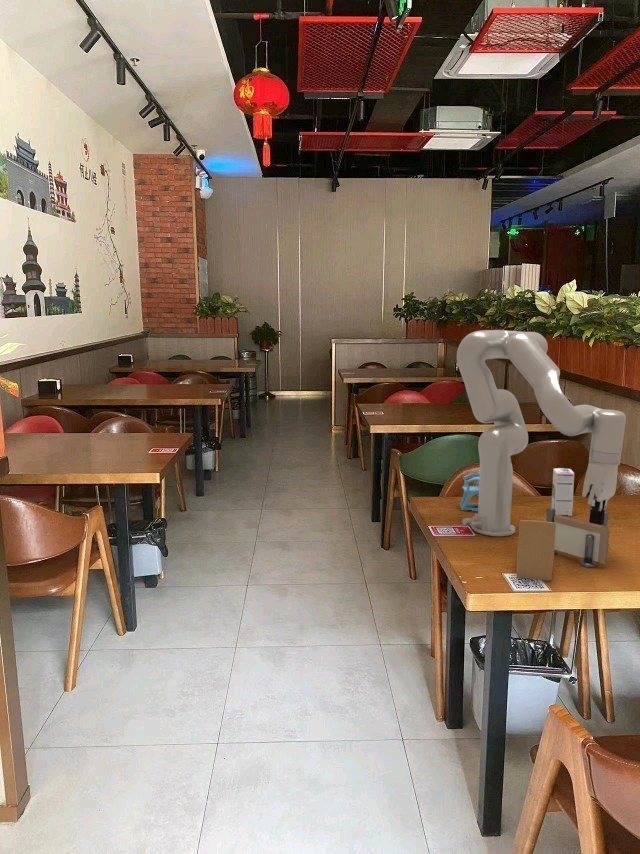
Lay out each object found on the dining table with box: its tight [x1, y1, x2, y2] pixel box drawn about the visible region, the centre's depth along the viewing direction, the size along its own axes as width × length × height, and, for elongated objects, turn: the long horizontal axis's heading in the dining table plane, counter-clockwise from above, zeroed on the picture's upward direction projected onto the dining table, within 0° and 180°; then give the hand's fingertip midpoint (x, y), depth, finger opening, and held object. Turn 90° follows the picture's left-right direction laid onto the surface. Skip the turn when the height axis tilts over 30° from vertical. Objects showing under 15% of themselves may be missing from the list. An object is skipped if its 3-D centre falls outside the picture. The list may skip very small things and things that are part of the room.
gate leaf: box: [554, 515, 611, 565], centre depth 172 cm, size 14×2×9 cm, turn 42°
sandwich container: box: [515, 519, 556, 581], centre depth 166 cm, size 9×15×15 cm, turn 163°
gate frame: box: [545, 507, 610, 569], centre depth 175 cm, size 21×16×12 cm
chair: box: [459, 472, 480, 512], centre depth 216 cm, size 8×8×12 cm
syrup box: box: [550, 467, 575, 517], centre depth 212 cm, size 6×6×14 cm
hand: (596, 523), depth 174 cm, fingers closed
